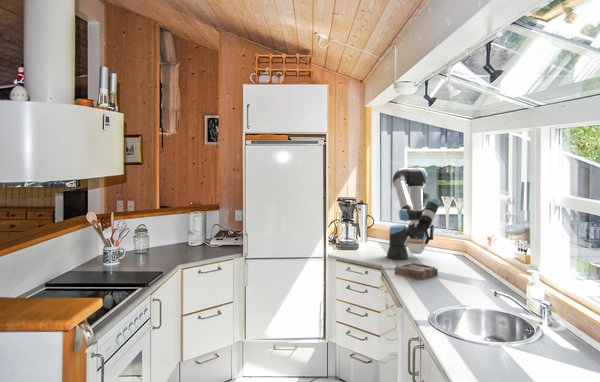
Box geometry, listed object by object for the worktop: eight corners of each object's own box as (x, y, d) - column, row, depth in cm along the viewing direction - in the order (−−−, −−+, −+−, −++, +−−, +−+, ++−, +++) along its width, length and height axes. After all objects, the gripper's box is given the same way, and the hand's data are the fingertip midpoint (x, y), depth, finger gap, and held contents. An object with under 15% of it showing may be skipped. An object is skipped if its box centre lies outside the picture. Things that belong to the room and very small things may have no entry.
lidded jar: (426, 255, 254) (426, 239, 253) (407, 254, 256) (407, 238, 255) (424, 251, 264) (424, 236, 264) (406, 251, 266) (406, 236, 266)
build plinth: (413, 269, 273) (413, 261, 273) (437, 275, 259) (437, 267, 259) (394, 273, 263) (394, 265, 263) (418, 280, 248) (418, 271, 248)
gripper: (407, 213, 274) (394, 240, 264) (442, 216, 258) (429, 245, 248) (412, 221, 278) (399, 248, 268) (446, 224, 262) (434, 253, 252)
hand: (413, 246), depth 258 cm, fingers closed on lidded jar, 11 cm apart
